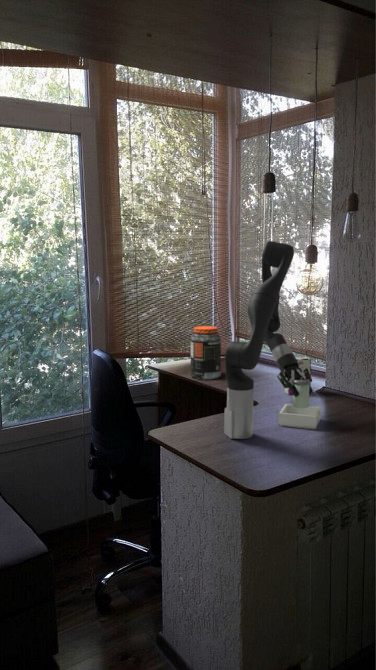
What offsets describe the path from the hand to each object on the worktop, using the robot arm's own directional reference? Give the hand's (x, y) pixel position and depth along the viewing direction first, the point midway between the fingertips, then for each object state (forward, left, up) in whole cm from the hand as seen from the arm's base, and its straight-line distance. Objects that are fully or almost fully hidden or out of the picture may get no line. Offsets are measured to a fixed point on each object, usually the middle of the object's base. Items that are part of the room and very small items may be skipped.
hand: (304, 394), depth 205 cm
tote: (-1, +2, -11) cm, 11 cm away
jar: (0, +2, -5) cm, 5 cm away
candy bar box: (+21, +41, -11) cm, 47 cm away
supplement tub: (-6, +85, -11) cm, 86 cm away
